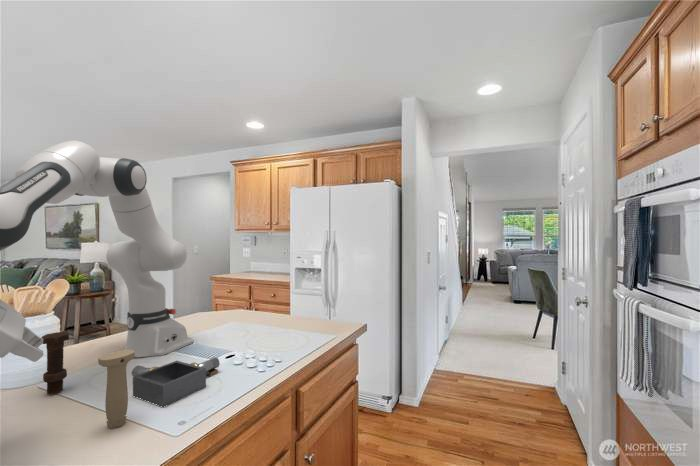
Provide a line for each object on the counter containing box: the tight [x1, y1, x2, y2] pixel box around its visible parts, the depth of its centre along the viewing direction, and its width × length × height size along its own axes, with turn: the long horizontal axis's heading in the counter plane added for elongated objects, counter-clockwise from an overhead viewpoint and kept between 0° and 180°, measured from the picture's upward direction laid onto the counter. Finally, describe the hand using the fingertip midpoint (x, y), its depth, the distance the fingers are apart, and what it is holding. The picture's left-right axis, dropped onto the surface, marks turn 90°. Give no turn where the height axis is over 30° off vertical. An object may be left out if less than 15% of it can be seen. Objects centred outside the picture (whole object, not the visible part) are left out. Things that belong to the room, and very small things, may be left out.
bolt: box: [40, 331, 70, 396], centre depth 86 cm, size 6×5×15 cm
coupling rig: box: [131, 357, 220, 408], centre depth 92 cm, size 20×20×5 cm
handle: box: [97, 349, 135, 429], centre depth 71 cm, size 5×6×15 cm
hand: (40, 350), depth 63 cm, fingers open, 8 cm apart
